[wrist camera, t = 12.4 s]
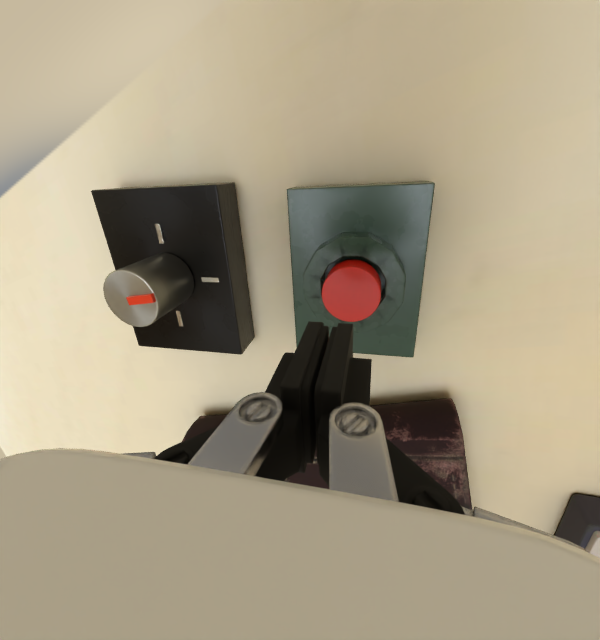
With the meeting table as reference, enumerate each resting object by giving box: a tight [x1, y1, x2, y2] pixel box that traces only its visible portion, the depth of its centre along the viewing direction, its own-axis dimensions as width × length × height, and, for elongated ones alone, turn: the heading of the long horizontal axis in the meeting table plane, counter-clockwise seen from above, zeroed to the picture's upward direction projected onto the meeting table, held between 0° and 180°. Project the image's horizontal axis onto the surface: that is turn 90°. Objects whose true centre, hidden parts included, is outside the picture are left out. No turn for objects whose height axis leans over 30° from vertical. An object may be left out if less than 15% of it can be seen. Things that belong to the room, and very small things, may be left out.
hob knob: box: [103, 253, 194, 327], centre depth 22 cm, size 4×4×5 cm
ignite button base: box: [287, 181, 435, 357], centre depth 22 cm, size 12×9×4 cm
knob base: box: [91, 182, 254, 354], centre depth 26 cm, size 13×10×3 cm
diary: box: [182, 399, 472, 510], centre depth 31 cm, size 19×25×5 cm
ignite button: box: [322, 259, 381, 322], centre depth 20 cm, size 4×4×2 cm
